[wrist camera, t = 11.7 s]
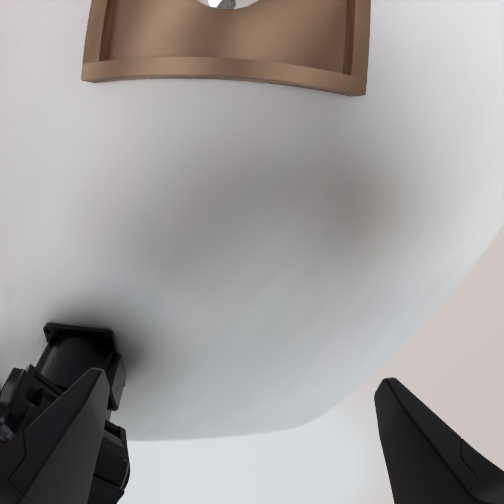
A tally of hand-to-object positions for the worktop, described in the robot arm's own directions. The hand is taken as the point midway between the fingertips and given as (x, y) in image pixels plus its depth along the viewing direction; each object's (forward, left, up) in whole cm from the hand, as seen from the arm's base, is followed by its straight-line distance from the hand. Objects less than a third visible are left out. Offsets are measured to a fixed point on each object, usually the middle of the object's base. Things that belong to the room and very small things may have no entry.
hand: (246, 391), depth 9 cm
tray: (-1, +17, -13) cm, 21 cm away
